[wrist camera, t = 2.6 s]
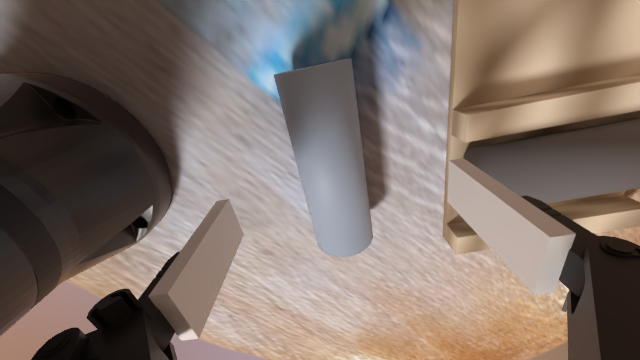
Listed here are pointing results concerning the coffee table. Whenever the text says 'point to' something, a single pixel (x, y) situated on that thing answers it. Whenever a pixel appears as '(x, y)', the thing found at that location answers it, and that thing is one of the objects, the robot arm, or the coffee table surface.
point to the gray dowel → (329, 153)
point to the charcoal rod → (566, 162)
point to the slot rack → (541, 88)
